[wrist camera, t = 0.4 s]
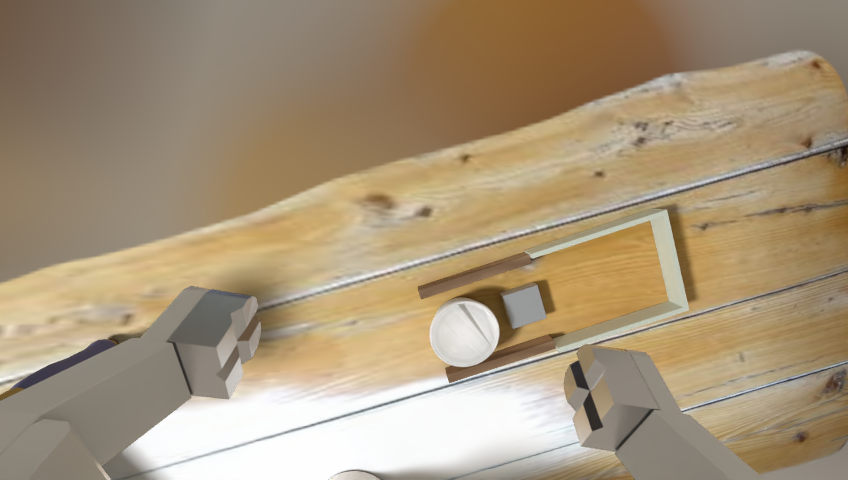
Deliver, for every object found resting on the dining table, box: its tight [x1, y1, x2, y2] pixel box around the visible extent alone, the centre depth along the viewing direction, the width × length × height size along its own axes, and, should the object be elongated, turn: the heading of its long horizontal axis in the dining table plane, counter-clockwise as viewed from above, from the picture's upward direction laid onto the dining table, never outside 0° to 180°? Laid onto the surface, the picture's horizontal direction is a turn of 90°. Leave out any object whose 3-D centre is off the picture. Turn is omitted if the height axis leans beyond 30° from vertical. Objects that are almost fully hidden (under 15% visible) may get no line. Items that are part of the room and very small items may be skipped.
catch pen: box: [524, 208, 689, 352], centre depth 61 cm, size 18×23×4 cm
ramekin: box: [430, 297, 500, 367], centre depth 61 cm, size 11×11×5 cm
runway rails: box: [418, 252, 556, 383], centre depth 62 cm, size 17×19×2 cm
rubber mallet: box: [0, 339, 118, 401], centre depth 46 cm, size 12×8×30 cm, turn 7°
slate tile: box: [500, 282, 547, 329], centre depth 62 cm, size 6×6×2 cm
